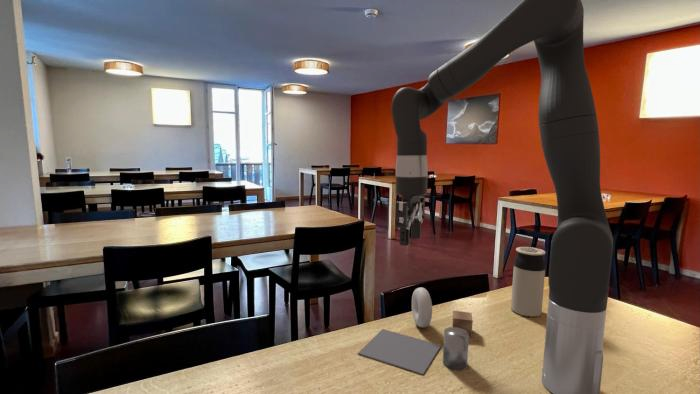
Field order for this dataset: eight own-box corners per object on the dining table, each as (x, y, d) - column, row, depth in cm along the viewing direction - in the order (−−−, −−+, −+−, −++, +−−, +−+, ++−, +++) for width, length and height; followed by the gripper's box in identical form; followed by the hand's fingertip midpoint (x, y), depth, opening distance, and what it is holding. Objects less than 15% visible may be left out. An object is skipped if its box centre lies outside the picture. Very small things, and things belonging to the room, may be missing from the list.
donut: (433, 334, 91) (435, 296, 90) (419, 335, 91) (421, 296, 89) (421, 316, 101) (423, 281, 100) (409, 317, 100) (410, 281, 99)
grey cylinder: (469, 361, 80) (471, 330, 79) (464, 373, 75) (465, 341, 74) (446, 354, 82) (447, 325, 81) (439, 366, 78) (441, 334, 77)
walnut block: (470, 329, 94) (471, 312, 94) (471, 338, 90) (472, 320, 89) (452, 327, 95) (453, 310, 95) (452, 335, 91) (453, 318, 90)
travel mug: (512, 315, 103) (517, 252, 100) (509, 304, 110) (513, 245, 108) (544, 319, 100) (549, 255, 98) (538, 307, 108) (543, 247, 106)
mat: (441, 346, 86) (441, 345, 86) (423, 375, 74) (423, 373, 74) (382, 330, 93) (382, 328, 93) (357, 354, 82) (357, 352, 82)
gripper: (417, 176, 80) (416, 249, 81) (435, 173, 92) (434, 237, 94) (385, 175, 83) (384, 246, 85) (406, 173, 96) (406, 234, 97)
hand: (410, 241), depth 89 cm, fingers open, 8 cm apart
